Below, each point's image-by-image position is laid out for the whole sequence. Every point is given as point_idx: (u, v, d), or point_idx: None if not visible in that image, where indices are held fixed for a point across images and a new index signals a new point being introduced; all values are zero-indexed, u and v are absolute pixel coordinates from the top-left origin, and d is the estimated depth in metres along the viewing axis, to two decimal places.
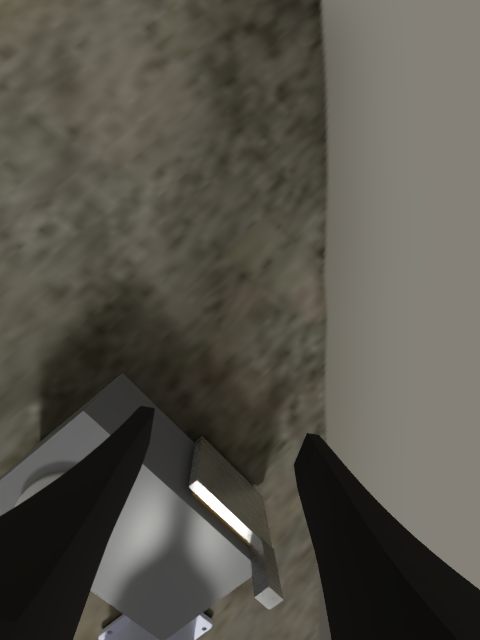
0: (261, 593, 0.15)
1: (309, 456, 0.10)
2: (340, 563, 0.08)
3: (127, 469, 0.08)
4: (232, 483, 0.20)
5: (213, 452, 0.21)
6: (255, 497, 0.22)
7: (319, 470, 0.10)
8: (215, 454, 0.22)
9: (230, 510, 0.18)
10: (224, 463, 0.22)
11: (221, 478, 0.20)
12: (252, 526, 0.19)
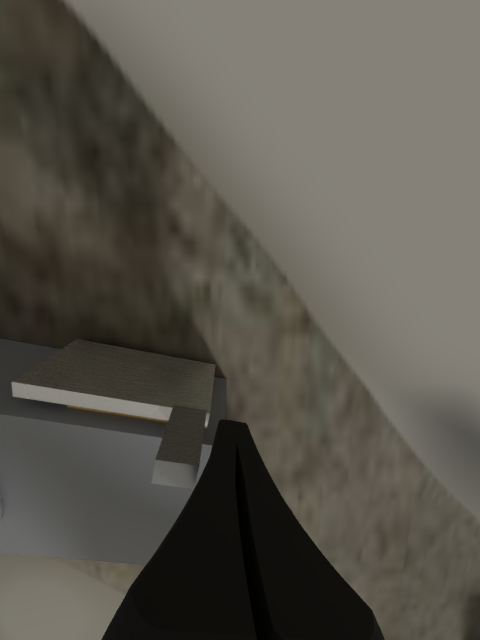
0: (156, 473, 0.09)
1: None
2: None
3: None
4: (131, 367, 0.14)
5: (98, 347, 0.15)
6: (192, 369, 0.15)
7: None
8: (103, 348, 0.15)
9: (99, 394, 0.11)
10: (124, 352, 0.15)
11: (99, 367, 0.13)
12: (160, 399, 0.12)
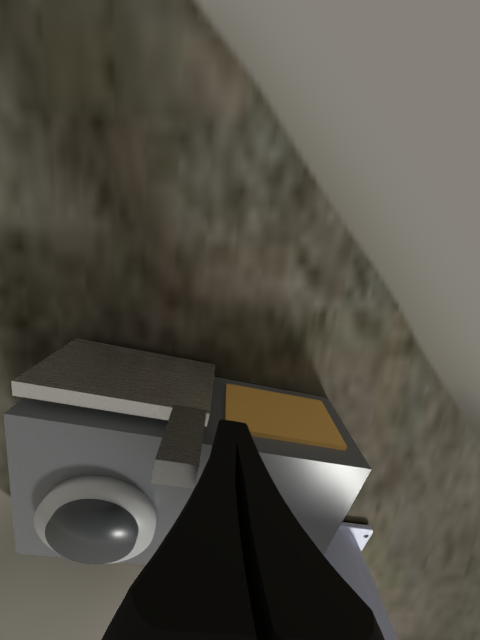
0: (156, 473, 0.09)
1: None
2: None
3: None
4: (131, 366, 0.14)
5: (98, 347, 0.15)
6: (192, 368, 0.15)
7: None
8: (103, 347, 0.15)
9: (99, 394, 0.11)
10: (124, 351, 0.15)
11: (99, 366, 0.13)
12: (160, 398, 0.12)
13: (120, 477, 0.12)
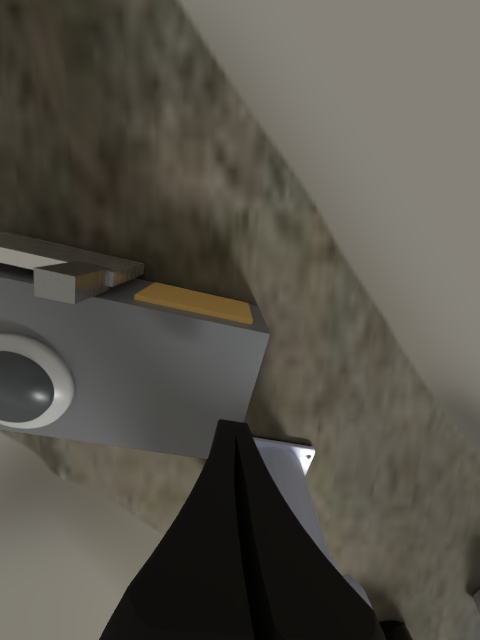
0: (37, 285, 0.10)
1: None
2: None
3: None
4: (53, 248, 0.15)
5: (28, 238, 0.16)
6: (117, 260, 0.16)
7: (234, 458, 0.09)
8: (33, 239, 0.16)
9: (8, 248, 0.12)
10: (53, 244, 0.16)
11: (20, 242, 0.14)
12: (69, 260, 0.13)
13: (34, 336, 0.13)
